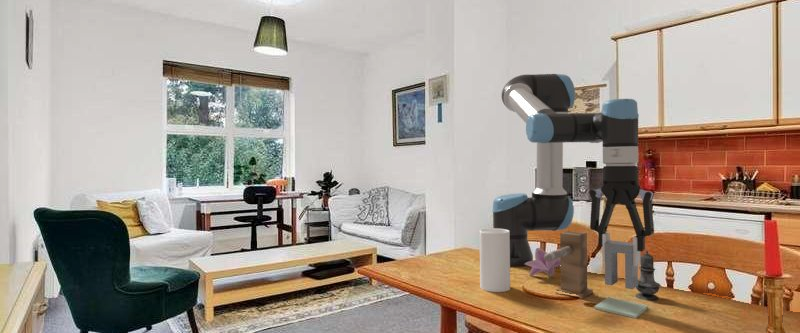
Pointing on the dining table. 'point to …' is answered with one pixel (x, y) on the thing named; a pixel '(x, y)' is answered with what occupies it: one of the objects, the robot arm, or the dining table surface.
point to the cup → (495, 260)
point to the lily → (542, 263)
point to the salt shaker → (647, 279)
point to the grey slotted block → (611, 263)
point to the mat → (621, 307)
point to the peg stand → (572, 263)
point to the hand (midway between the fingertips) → (621, 262)
